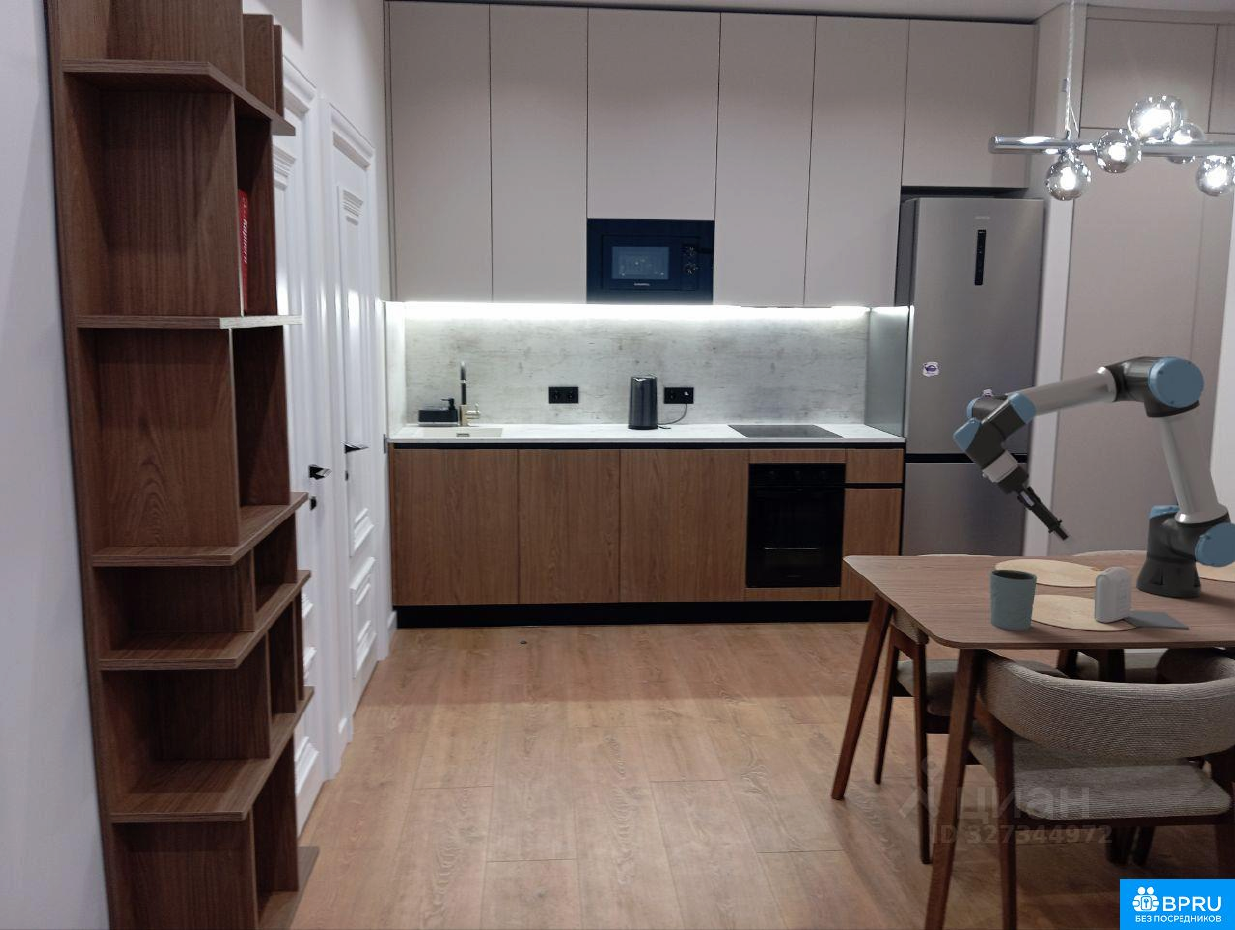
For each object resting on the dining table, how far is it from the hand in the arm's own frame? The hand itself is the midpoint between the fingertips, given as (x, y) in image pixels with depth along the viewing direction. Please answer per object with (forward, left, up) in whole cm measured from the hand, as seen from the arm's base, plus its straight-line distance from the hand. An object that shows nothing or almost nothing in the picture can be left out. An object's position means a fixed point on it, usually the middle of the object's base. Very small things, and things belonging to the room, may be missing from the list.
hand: (1075, 548), depth 233 cm
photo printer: (-9, +2, -16) cm, 19 cm away
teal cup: (+17, +11, -17) cm, 26 cm away
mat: (-18, +1, -16) cm, 24 cm away
